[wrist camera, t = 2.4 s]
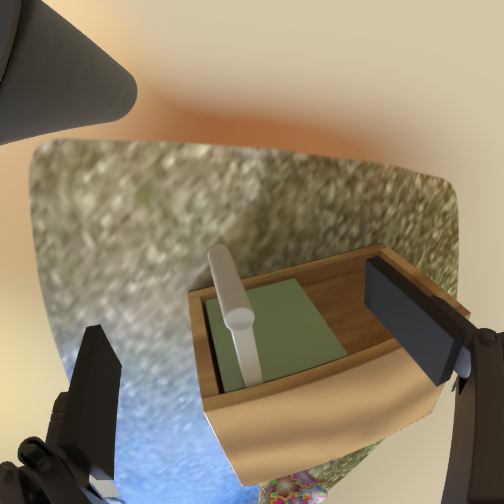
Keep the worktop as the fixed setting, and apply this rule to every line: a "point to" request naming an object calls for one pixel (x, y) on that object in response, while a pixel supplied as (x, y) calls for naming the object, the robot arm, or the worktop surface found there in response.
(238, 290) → the sliding door
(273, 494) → the mug
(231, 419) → the cupboard
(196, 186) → the worktop surface
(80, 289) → the worktop surface
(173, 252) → the worktop surface
